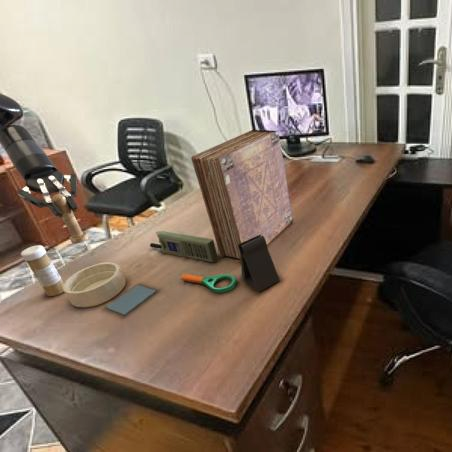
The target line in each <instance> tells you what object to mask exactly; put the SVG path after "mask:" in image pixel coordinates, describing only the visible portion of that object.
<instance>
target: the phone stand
mask: <svg viewBox="0 0 452 452" xmlns="http://www.w3.org/2000/svg"><path fill="white" fill-rule="evenodd" d="M260 236H261V234H260V235H258V236H256V237H253V238H251V239H249V240H247V241H245V242H243V243H240V244H238V248H239V251H240V258H241V259H240V269H241V270H240V271H241V277H242V279H243V280H245V282H247V283H248V284H249V285H250V286H251V287H252V288H253V289H254V290H256V292H257V293H261V292H262V291H265V290H267V289H268V288H270V287H272V286H273V285H275V284H277V283H279V282H280V277H279V274H278V272H277V270H276V267H275V264H274V261H273V258H272V256H271V254H270V250H269V248H268V244H267V245H266V240H265V238H264V236H261V237H260Z"/></svg>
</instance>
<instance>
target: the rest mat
mask: <svg viewBox="0 0 452 452" xmlns="http://www.w3.org/2000/svg"><path fill="white" fill-rule="evenodd" d="M156 293H157V290H155V289H152V288H149V287H145V286H143V285H140V284H137V285H136V286H134V287H133V288H131V289H130V290H128V291H126V292H125V293H124V294H122V295H121V296H119V298H117V299H116V300H114V301H113V302H111V303H110V304H108V305H107V306H105V308H106V309H107V310H109V311H113V312H115V313H117V314H121V315H123V316H127V315H128V314H129V313H130V312H132V311H133V310H135V309H137V307H139V306H140V305H142V304H143V303H144V302H145V301H147V300H148V299H149V298H151V297H152V296H153V295H155V294H156Z"/></svg>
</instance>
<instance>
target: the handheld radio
mask: <svg viewBox="0 0 452 452" xmlns="http://www.w3.org/2000/svg"><path fill="white" fill-rule="evenodd" d="M155 234H156V236H157V238H158V242H159V243H155V242H151V243H150V244H149V247H150V248H154V249H158V250H159V249H160V250H162V251H161V252H162V253H164V254H169V255H174V256H180V257H185V258H188V259H189V258H190V259H195V260H199V261H205V262H209V263H216V262H217V261H218V260H219V255H218V253H217V249H216V244H215V241H214V239H213V238H210V237H209V238H208V237H202V236H197V235H196V236H195V235H190V234H184V233H177V232H172V231H166V230H158V231H155Z"/></svg>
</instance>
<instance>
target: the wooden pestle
mask: <svg viewBox="0 0 452 452" xmlns="http://www.w3.org/2000/svg"><path fill="white" fill-rule="evenodd" d="M51 199H52V202H54V203H55V204H56V206H57V207H58V208H59V210H60V211H61V213H62V216H63V217H61V219H62V220H63V222H64V224H65V227H66V228H67V230H68V231H69V234H70V236H69V241H70V242H71V244H72V245H73V244H74V245H76V244H81V243H83V242H86V241H87V240H88V239H89V235H88V233H87V232H86V231H83V230H82V228H81V226H80V224H79V222H78V220H77V218H76V217H75V214H74V213H73V211H72V210H71V208H70V207H69V205H68V203H67V201H66V198H65V196H64V195H62V194H59V193H54V195H53V196H52V197H51Z"/></svg>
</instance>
